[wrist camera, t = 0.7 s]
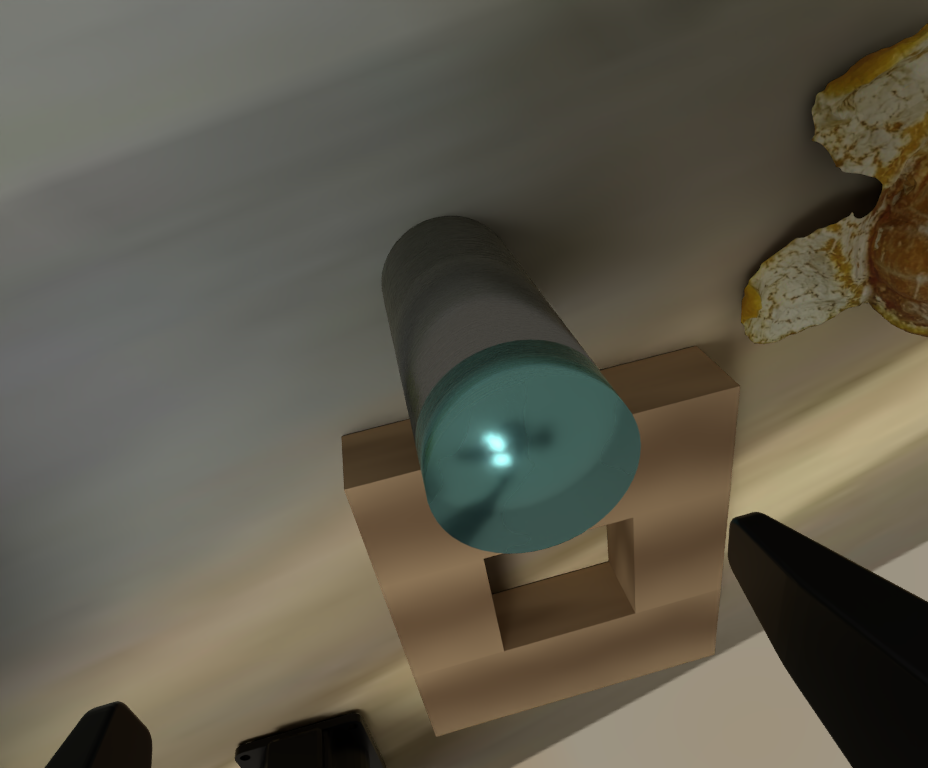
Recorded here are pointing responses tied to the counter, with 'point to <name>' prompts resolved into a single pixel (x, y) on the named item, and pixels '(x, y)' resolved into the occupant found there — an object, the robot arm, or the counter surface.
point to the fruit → (881, 231)
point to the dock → (570, 595)
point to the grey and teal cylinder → (500, 395)
